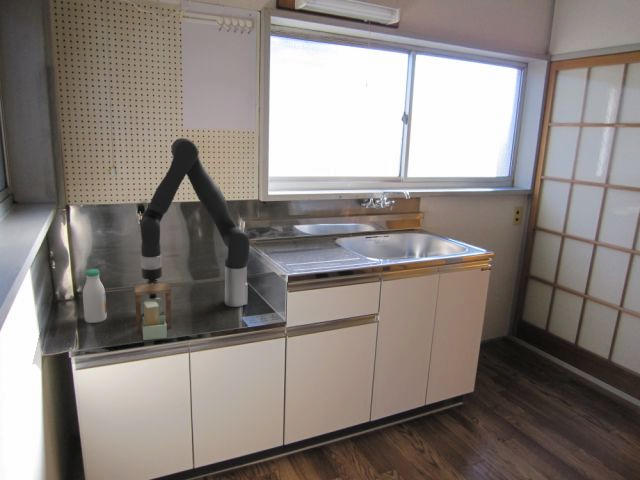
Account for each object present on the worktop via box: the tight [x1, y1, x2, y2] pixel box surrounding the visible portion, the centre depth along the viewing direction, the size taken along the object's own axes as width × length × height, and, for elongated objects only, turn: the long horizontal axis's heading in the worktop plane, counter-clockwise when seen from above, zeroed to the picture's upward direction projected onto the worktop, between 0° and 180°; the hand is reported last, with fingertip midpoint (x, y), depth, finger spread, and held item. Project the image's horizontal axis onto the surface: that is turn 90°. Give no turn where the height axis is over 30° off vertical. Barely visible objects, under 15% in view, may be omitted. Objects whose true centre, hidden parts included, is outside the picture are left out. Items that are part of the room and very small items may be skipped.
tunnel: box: [134, 282, 173, 333], centre depth 174 cm, size 12×7×16 cm, turn 111°
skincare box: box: [143, 300, 159, 327], centre depth 168 cm, size 6×4×12 cm
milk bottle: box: [82, 268, 108, 324], centre depth 175 cm, size 8×8×20 cm
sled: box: [141, 297, 168, 341], centre depth 174 cm, size 8×21×7 cm, turn 21°
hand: (153, 305), depth 186 cm, fingers closed
